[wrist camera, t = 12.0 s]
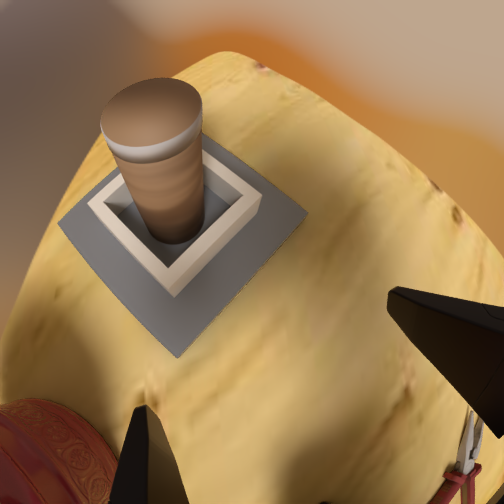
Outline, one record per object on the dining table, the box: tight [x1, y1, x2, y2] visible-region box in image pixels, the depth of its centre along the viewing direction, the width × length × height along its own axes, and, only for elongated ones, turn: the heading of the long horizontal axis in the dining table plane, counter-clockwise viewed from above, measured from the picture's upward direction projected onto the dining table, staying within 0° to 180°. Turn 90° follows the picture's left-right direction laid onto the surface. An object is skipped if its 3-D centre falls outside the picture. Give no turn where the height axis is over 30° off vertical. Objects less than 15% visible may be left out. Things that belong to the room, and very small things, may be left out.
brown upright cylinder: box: [101, 78, 205, 245], centre depth 18 cm, size 5×5×12 cm
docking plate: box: [57, 133, 308, 358], centre depth 22 cm, size 16×16×4 cm
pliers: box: [429, 411, 484, 504], centre depth 17 cm, size 12×20×3 cm, turn 170°
